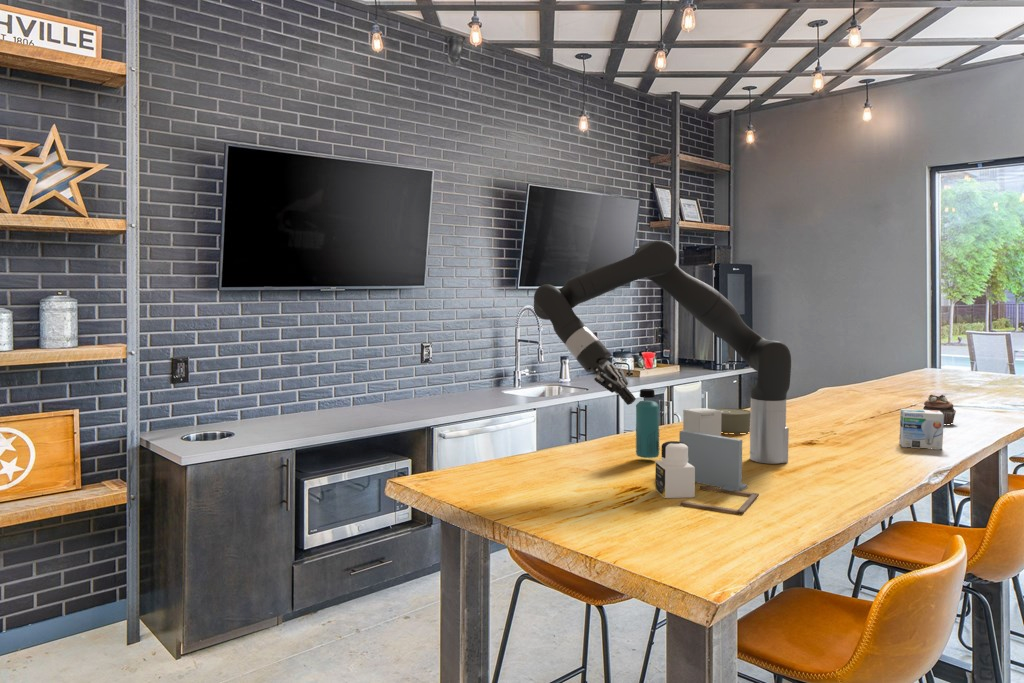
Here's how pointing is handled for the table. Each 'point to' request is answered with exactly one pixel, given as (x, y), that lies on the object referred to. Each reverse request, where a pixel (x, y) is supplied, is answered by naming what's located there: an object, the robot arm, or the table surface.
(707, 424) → the skincare box
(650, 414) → the beverage bottle
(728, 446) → the screen
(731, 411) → the can
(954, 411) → the cupcake
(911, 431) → the light bulb box
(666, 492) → the medicine bottle
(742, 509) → the bay
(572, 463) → the table surface
